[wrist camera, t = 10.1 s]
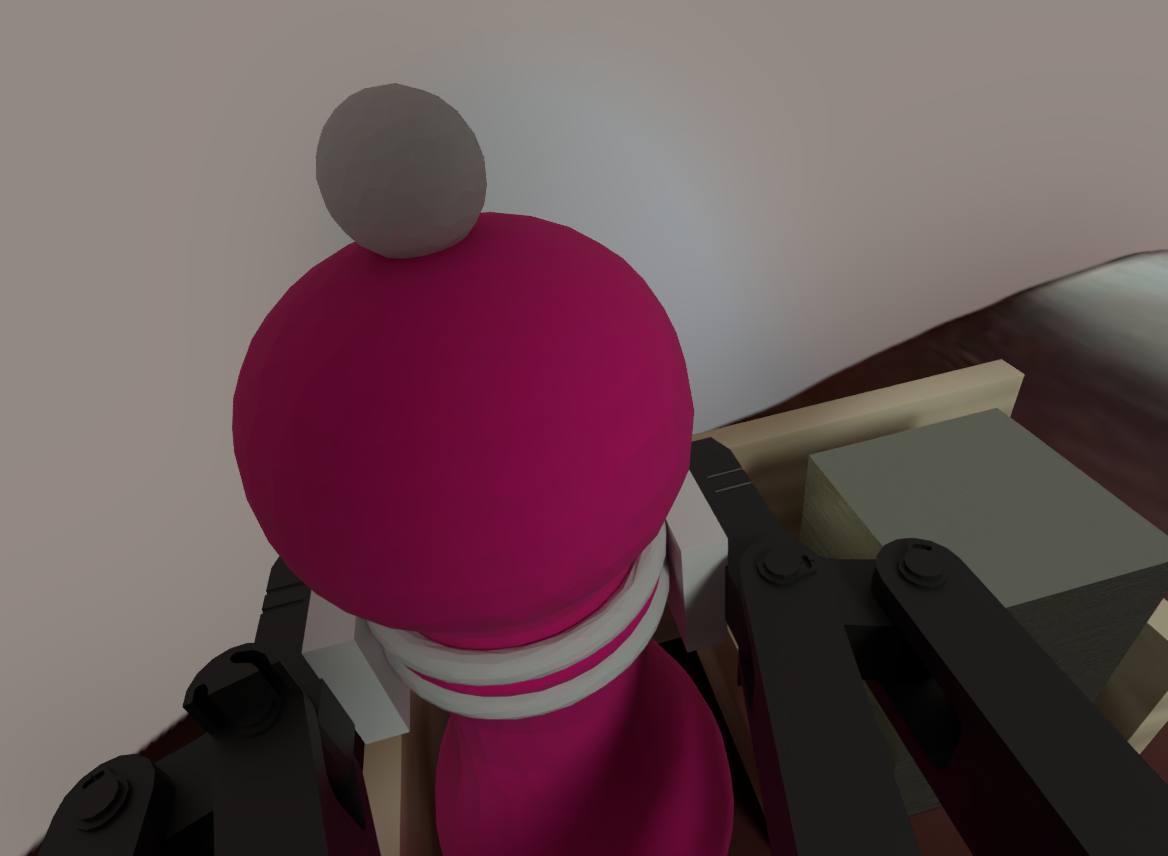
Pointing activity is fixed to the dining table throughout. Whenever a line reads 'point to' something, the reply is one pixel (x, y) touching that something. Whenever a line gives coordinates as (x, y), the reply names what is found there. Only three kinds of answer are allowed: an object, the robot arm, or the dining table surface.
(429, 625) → the pepper mill
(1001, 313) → the dining table surface
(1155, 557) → the tea tin
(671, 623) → the spice rack
